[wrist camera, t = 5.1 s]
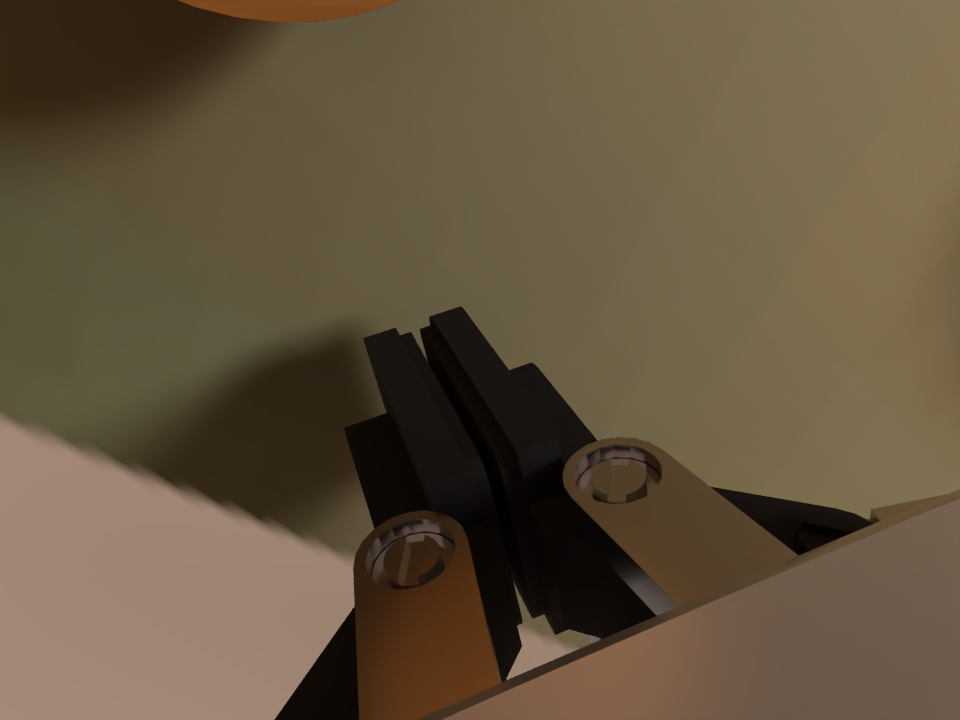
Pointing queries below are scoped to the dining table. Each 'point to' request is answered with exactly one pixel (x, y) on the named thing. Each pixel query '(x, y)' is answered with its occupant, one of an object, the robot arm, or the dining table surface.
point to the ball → (289, 8)
